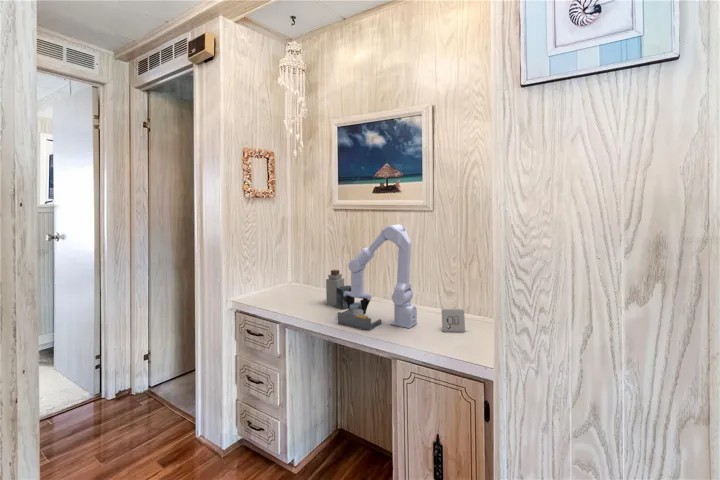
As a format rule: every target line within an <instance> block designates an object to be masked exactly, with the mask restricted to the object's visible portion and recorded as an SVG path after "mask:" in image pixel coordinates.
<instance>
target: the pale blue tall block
mask: <svg viewBox="0 0 720 480" xmlns="http://www.w3.org/2000/svg"><path fill="white" fill-rule="evenodd" d="M351 308H355V309H361V310H362V306H361V302H360V301H355V303H353V304H351V305H350V309H351ZM365 315H366V314H364V315H363V316H365Z"/></svg>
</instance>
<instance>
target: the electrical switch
mask: <svg viewBox="0 0 720 480" xmlns="http://www.w3.org/2000/svg"><path fill="white" fill-rule="evenodd" d="M465 324H466V323H465V310H464V309H463V308H441V331H442V332H444V333H445V332H446V333H447V332H448V333H465V331H466V325H465Z"/></svg>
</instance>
